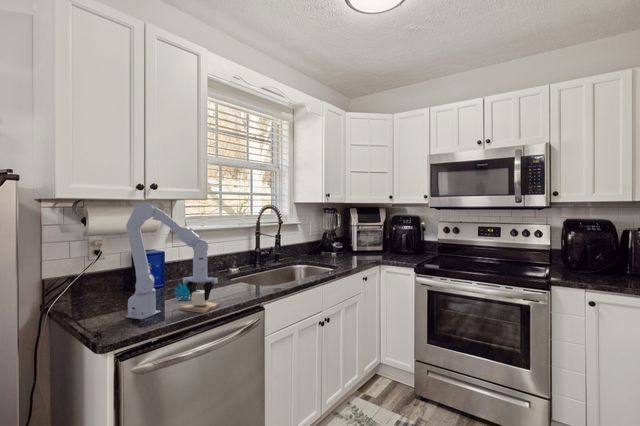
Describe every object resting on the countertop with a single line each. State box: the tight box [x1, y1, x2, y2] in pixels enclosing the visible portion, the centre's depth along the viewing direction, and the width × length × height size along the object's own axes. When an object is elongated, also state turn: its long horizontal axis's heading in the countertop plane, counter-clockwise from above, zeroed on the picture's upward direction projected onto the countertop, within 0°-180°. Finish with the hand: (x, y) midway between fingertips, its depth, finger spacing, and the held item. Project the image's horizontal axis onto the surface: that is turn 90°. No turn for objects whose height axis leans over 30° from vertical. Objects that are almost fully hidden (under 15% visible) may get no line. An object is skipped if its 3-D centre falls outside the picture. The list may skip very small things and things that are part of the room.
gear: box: [173, 282, 198, 301], centre depth 154 cm, size 11×6×10 cm
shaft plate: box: [179, 301, 221, 314], centre depth 138 cm, size 10×12×4 cm
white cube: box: [191, 289, 209, 305], centre depth 138 cm, size 5×5×5 cm
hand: (200, 299), depth 138 cm, fingers closed on white cube, 5 cm apart
